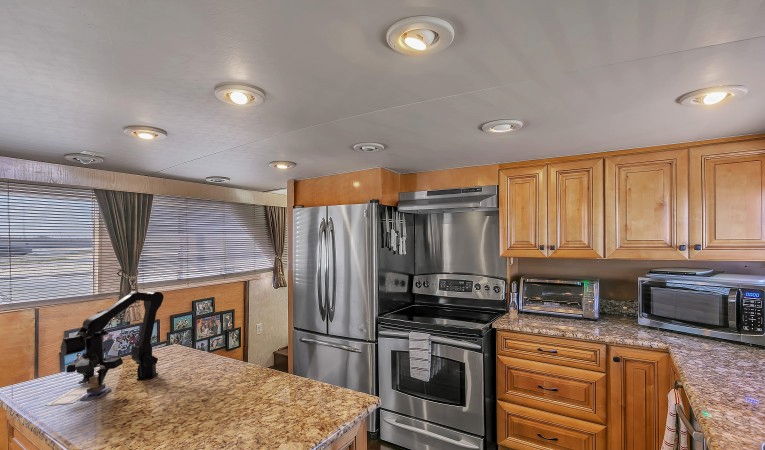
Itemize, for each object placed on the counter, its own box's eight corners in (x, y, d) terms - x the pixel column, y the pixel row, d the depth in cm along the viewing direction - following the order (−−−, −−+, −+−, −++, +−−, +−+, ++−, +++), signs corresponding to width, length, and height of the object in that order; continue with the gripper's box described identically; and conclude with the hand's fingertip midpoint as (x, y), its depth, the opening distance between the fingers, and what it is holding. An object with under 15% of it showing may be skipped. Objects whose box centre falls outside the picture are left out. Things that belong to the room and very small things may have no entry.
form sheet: (99, 386, 160) (99, 385, 160) (72, 403, 144) (72, 402, 144) (75, 388, 159) (75, 387, 159) (45, 405, 143) (45, 405, 143)
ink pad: (111, 390, 155) (111, 387, 155) (98, 398, 147) (98, 395, 147) (93, 391, 155) (93, 389, 155) (80, 400, 147) (80, 397, 147)
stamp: (105, 387, 153) (104, 373, 154) (98, 392, 149) (97, 377, 149) (94, 388, 153) (93, 374, 153) (86, 393, 149) (86, 378, 149)
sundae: (84, 384, 163) (82, 351, 163) (72, 384, 165) (70, 351, 165) (98, 378, 170) (97, 346, 170) (86, 378, 171) (85, 346, 171)
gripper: (54, 356, 142) (56, 396, 142) (105, 352, 144) (107, 391, 144) (75, 347, 153) (77, 384, 153) (122, 343, 155) (124, 380, 155)
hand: (96, 385), depth 151 cm, fingers closed on stamp, 3 cm apart
